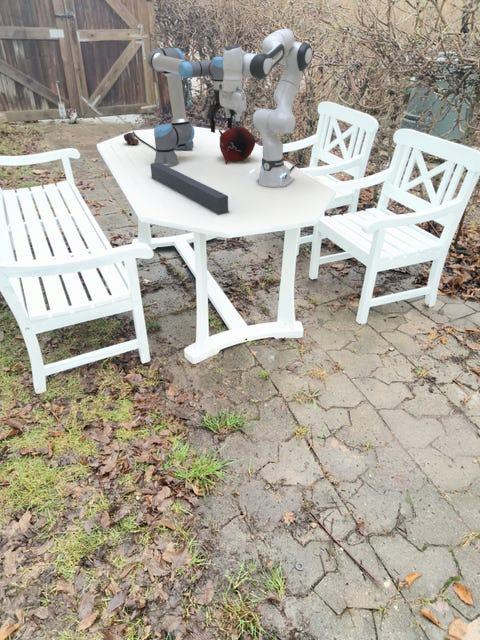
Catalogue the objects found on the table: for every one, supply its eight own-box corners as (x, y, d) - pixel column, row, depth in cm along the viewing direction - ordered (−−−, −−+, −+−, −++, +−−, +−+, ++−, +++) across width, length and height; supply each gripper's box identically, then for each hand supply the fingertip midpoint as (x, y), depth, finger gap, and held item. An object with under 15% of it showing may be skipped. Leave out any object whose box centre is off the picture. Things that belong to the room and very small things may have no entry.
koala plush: (193, 150, 321) (191, 121, 310) (168, 151, 320) (165, 122, 309) (193, 144, 335) (191, 116, 324) (169, 145, 334) (166, 117, 323)
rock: (136, 143, 344) (123, 145, 340) (134, 131, 341) (121, 132, 336) (140, 144, 335) (127, 145, 331) (138, 132, 331) (125, 133, 327)
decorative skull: (216, 132, 305) (216, 129, 282) (250, 124, 304) (252, 121, 281) (223, 164, 312) (223, 164, 288) (256, 157, 311) (259, 156, 288)
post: (151, 177, 270) (150, 163, 265) (160, 176, 272) (158, 162, 268) (218, 214, 220) (218, 198, 215) (228, 212, 223) (227, 195, 218)
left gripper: (208, 92, 238) (210, 135, 250) (241, 87, 253) (241, 127, 265) (199, 91, 242) (201, 132, 254) (231, 86, 257) (231, 125, 269)
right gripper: (250, 88, 198) (249, 122, 206) (228, 83, 213) (228, 115, 221) (237, 89, 196) (237, 123, 203) (216, 84, 211) (217, 116, 218)
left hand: (221, 130), depth 260 cm, fingers open, 13 cm apart
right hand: (232, 119), depth 212 cm, fingers open, 8 cm apart
